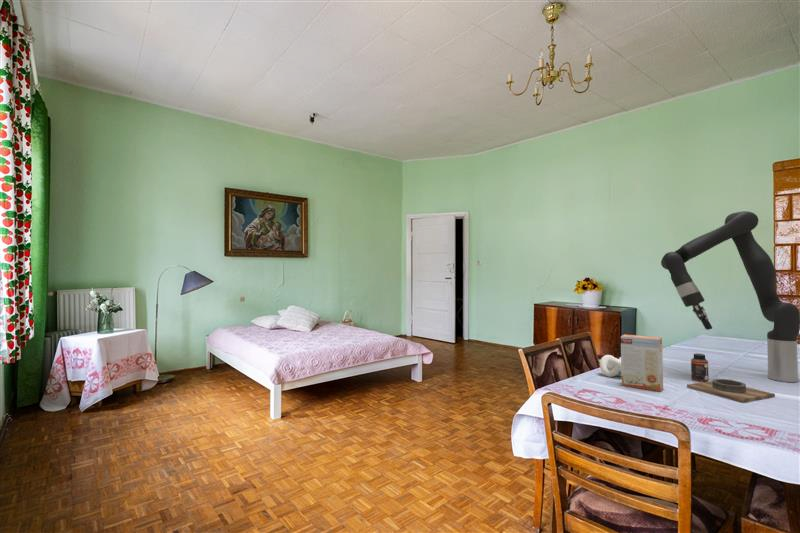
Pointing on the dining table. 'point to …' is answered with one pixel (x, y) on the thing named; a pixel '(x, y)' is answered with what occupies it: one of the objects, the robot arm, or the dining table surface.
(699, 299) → the robot arm
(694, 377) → the supplement bottle
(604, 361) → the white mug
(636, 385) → the cracker box
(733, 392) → the collar plate
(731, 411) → the dining table surface
